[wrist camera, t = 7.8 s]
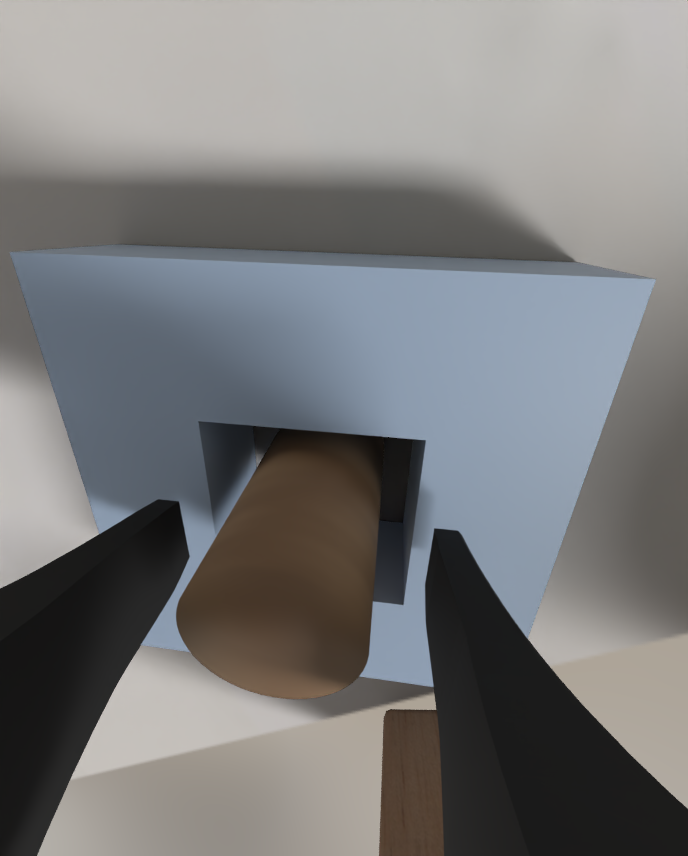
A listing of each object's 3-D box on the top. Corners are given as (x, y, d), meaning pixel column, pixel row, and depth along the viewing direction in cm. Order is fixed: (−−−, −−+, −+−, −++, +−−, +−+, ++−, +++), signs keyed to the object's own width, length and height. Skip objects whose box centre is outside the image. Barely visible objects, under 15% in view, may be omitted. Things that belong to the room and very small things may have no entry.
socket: (183, 566, 19) (134, 644, 16) (117, 244, 13) (9, 252, 9) (485, 603, 18) (506, 697, 14) (577, 262, 12) (655, 279, 8)
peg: (287, 489, 16) (200, 690, 9) (272, 398, 15) (152, 561, 8) (385, 491, 16) (372, 707, 9) (382, 396, 14) (364, 571, 7)
